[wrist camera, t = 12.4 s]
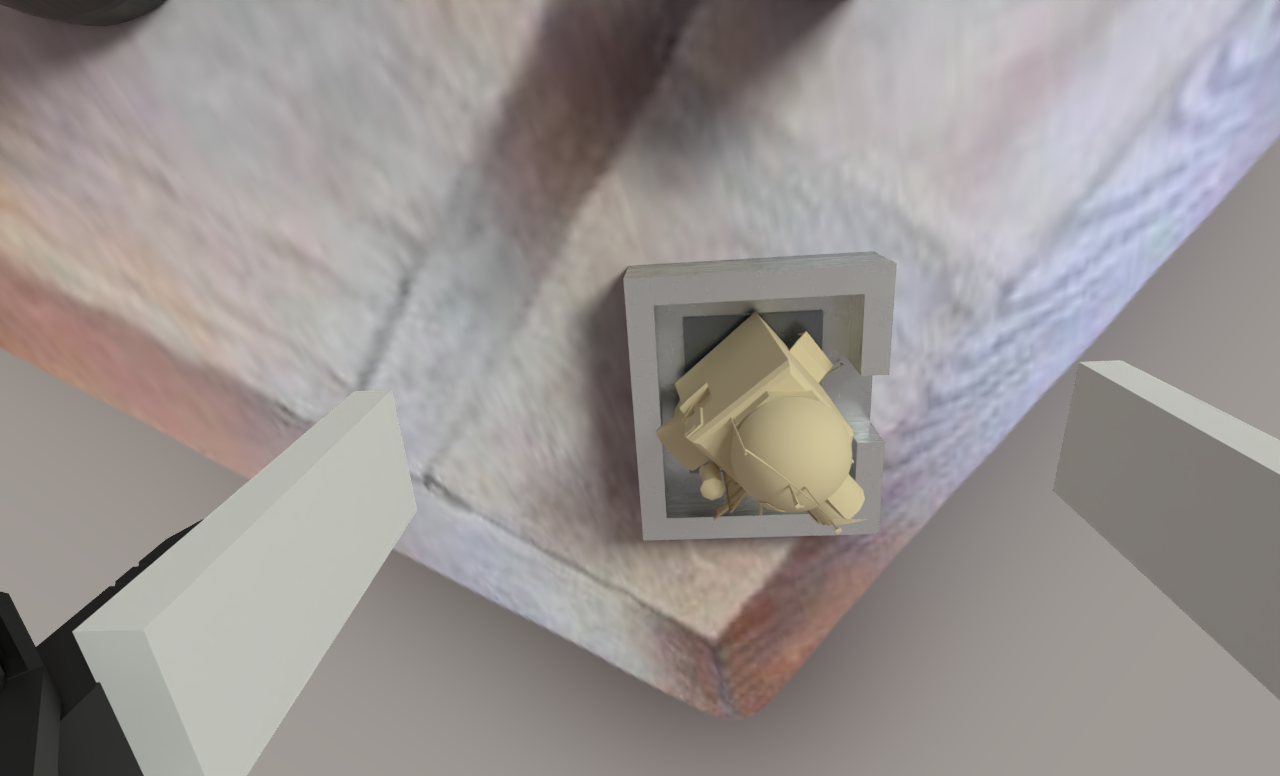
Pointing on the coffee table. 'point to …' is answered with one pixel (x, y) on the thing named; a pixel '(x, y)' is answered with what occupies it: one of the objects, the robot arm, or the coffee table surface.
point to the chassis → (789, 304)
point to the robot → (765, 427)
